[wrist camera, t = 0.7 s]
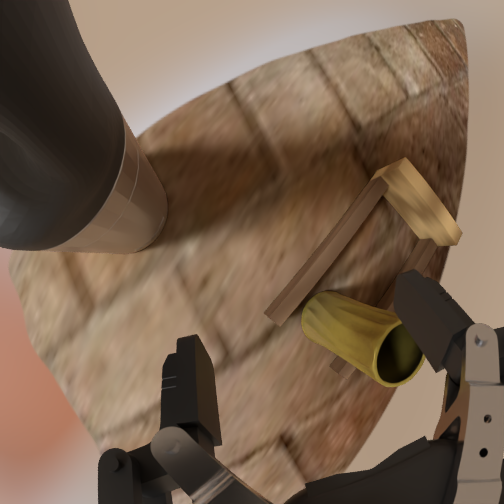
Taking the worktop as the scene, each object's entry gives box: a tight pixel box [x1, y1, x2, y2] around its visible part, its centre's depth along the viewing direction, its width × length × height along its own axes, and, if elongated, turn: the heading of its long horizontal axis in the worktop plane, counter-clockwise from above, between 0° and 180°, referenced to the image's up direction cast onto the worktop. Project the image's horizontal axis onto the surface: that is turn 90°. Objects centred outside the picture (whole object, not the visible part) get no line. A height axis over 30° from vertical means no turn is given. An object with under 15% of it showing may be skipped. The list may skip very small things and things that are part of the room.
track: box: [264, 157, 462, 380], centre depth 29 cm, size 12×22×6 cm, turn 139°
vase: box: [301, 291, 426, 387], centre depth 25 cm, size 6×6×14 cm
